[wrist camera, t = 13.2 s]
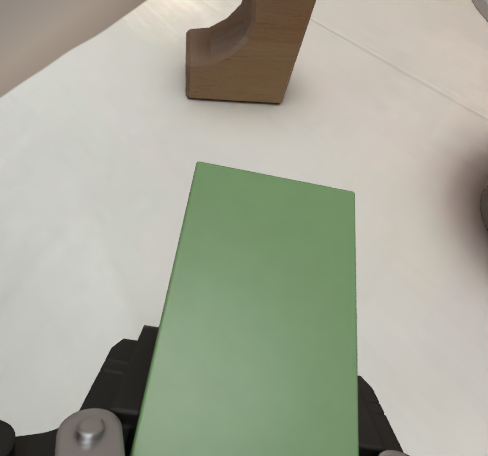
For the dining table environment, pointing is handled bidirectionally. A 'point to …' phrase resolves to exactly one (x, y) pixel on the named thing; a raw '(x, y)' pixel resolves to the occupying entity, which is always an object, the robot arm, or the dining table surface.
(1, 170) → the dining table surface
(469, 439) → the dining table surface
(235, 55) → the decorative block
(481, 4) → the vase
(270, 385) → the bar
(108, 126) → the dining table surface
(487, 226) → the lamp
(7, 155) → the dining table surface
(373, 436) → the robot arm
